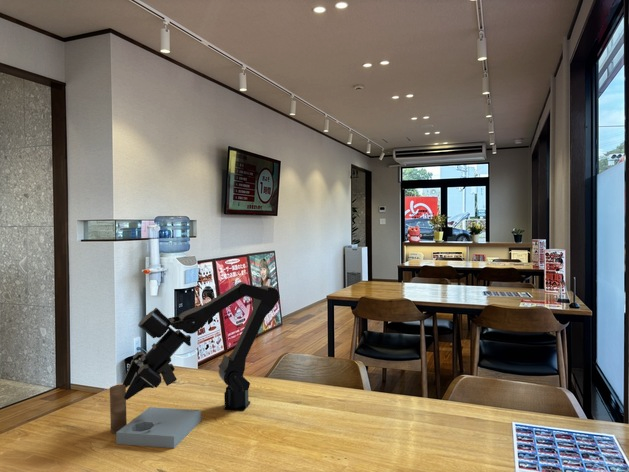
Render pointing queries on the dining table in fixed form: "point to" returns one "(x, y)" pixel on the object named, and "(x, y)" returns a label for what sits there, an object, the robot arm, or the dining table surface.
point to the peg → (117, 407)
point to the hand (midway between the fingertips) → (124, 393)
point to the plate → (159, 427)
